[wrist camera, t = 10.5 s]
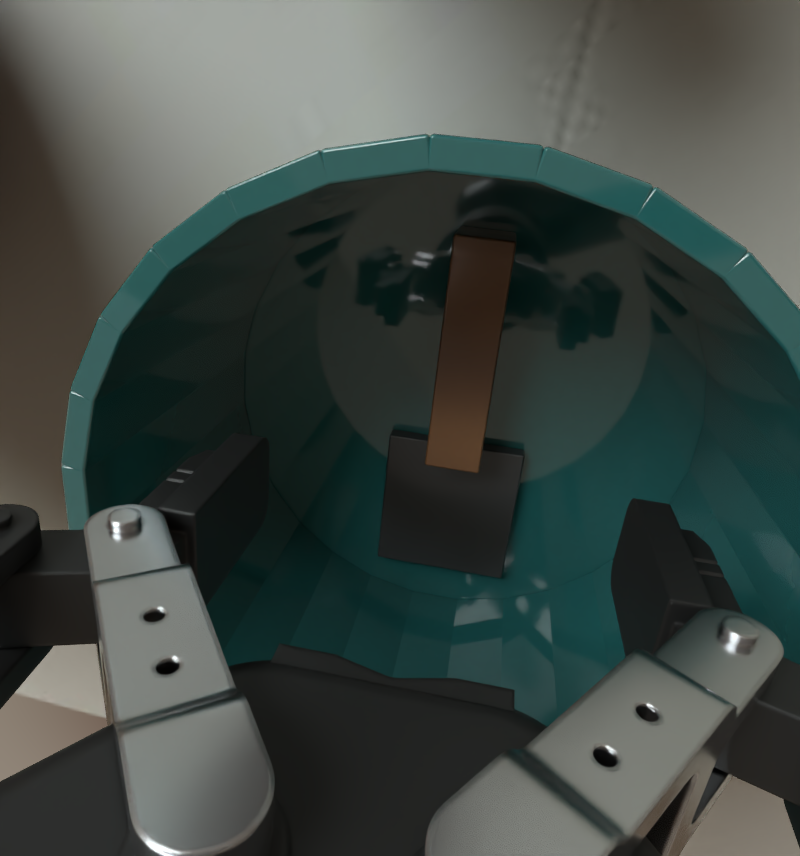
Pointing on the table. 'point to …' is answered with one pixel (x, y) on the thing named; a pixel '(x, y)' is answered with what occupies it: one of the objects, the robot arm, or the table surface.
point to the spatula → (458, 429)
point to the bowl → (413, 395)
